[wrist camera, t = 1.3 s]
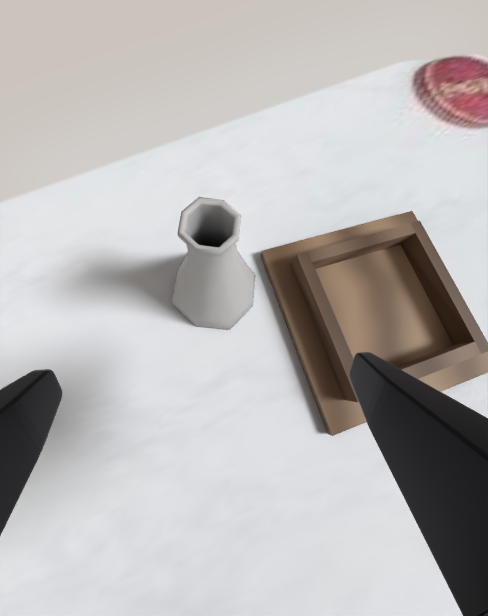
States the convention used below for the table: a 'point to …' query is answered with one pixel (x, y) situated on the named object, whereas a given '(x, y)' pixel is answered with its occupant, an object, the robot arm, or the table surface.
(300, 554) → the table surface
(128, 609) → the table surface
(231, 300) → the flask
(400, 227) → the holder
